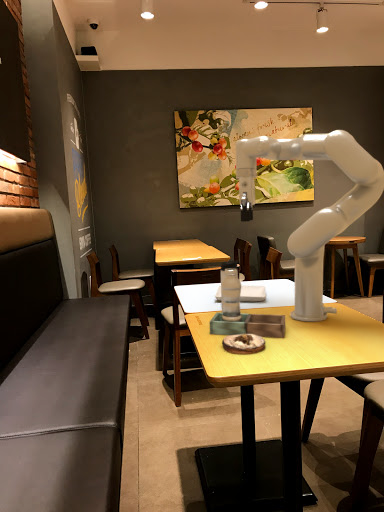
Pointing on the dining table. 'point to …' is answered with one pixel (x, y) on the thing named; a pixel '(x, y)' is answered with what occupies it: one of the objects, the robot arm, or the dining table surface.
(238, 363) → the dining table surface
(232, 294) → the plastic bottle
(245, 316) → the dock
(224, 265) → the travel mug
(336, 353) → the dining table surface
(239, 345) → the sushi roll
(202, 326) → the dining table surface
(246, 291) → the salad plate
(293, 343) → the dining table surface
